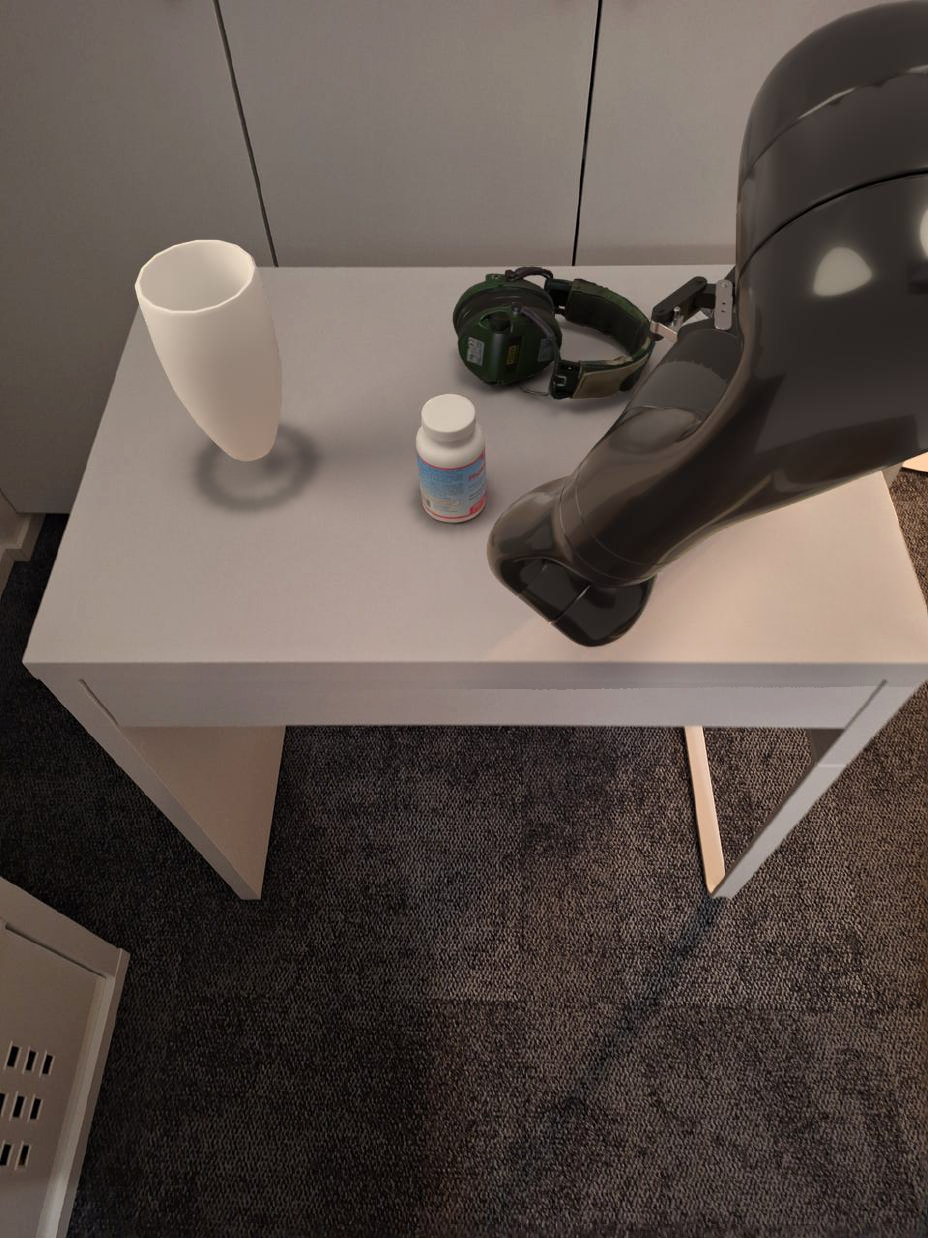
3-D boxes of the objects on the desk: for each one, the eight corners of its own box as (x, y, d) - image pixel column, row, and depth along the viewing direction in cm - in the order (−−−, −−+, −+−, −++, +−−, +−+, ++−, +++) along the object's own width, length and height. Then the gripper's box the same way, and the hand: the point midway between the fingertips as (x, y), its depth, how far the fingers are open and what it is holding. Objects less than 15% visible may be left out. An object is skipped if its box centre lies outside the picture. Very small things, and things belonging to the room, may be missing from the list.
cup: (327, 476, 89) (283, 286, 71) (228, 521, 86) (156, 335, 68) (283, 412, 94) (231, 220, 76) (187, 453, 91) (110, 263, 73)
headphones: (471, 398, 86) (672, 396, 89) (469, 247, 83) (675, 252, 87) (447, 405, 99) (623, 404, 102) (444, 275, 96) (625, 278, 100)
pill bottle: (486, 525, 85) (484, 437, 75) (420, 525, 85) (410, 439, 75) (486, 476, 88) (484, 386, 79) (423, 477, 88) (414, 387, 79)
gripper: (801, 408, 59) (893, 269, 66) (604, 330, 64) (711, 209, 71) (772, 487, 65) (859, 352, 72) (594, 411, 70) (694, 292, 77)
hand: (786, 282), depth 72 cm, fingers closed on supplement bottle, 5 cm apart
